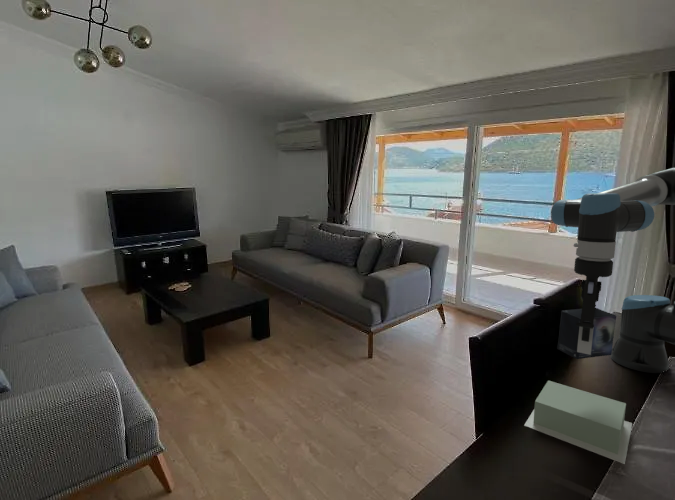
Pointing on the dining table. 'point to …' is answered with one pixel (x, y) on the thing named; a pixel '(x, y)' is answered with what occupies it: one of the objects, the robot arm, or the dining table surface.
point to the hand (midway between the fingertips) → (585, 344)
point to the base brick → (581, 415)
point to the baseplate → (617, 457)
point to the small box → (601, 333)
